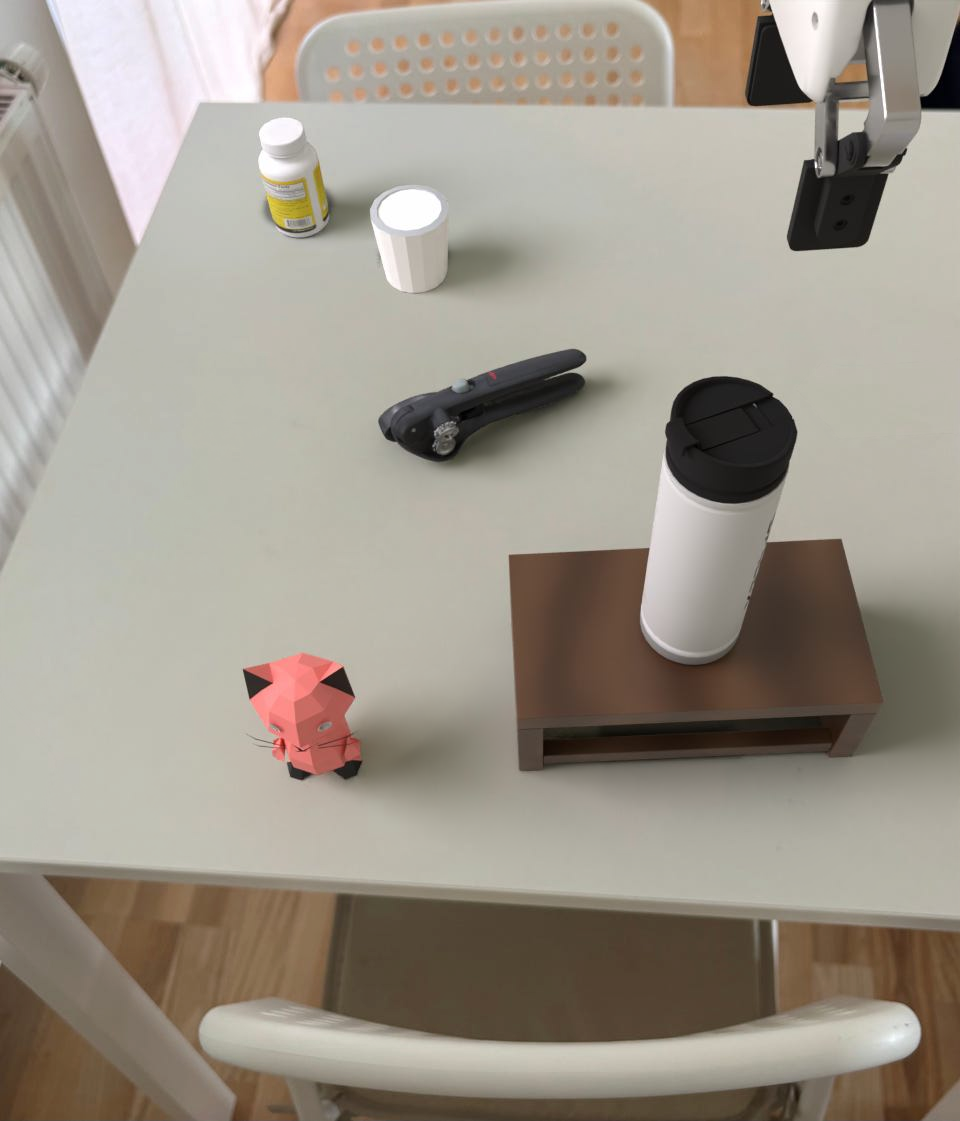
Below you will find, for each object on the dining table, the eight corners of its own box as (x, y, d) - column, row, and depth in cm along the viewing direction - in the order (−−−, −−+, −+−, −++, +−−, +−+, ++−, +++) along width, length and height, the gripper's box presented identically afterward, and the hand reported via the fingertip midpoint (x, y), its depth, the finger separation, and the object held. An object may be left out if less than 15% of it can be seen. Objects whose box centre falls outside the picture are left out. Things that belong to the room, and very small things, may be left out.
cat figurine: (268, 801, 73) (225, 722, 63) (278, 707, 76) (239, 619, 66) (374, 799, 72) (349, 719, 62) (379, 705, 76) (356, 616, 66)
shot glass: (411, 309, 98) (403, 246, 92) (363, 271, 101) (353, 208, 95) (469, 272, 100) (465, 209, 94) (421, 236, 103) (414, 172, 97)
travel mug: (617, 604, 71) (641, 391, 54) (707, 568, 72) (758, 348, 55) (664, 683, 67) (705, 482, 51) (758, 644, 68) (828, 435, 52)
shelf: (816, 601, 79) (841, 538, 73) (852, 756, 73) (883, 702, 66) (511, 616, 80) (508, 554, 73) (519, 771, 73) (516, 718, 66)
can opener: (406, 488, 87) (399, 442, 82) (374, 427, 90) (365, 380, 86) (606, 410, 90) (609, 362, 86) (567, 355, 94) (568, 306, 89)
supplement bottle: (304, 194, 107) (285, 104, 99) (341, 218, 105) (325, 128, 97) (262, 222, 105) (238, 132, 97) (298, 247, 103) (278, 157, 95)
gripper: (1141, -190, 28) (943, 303, 43) (955, -417, 38) (843, 48, 52) (850, -169, 29) (749, 316, 43) (737, -400, 38) (685, 59, 52)
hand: (801, 168), depth 48 cm, fingers open, 9 cm apart
